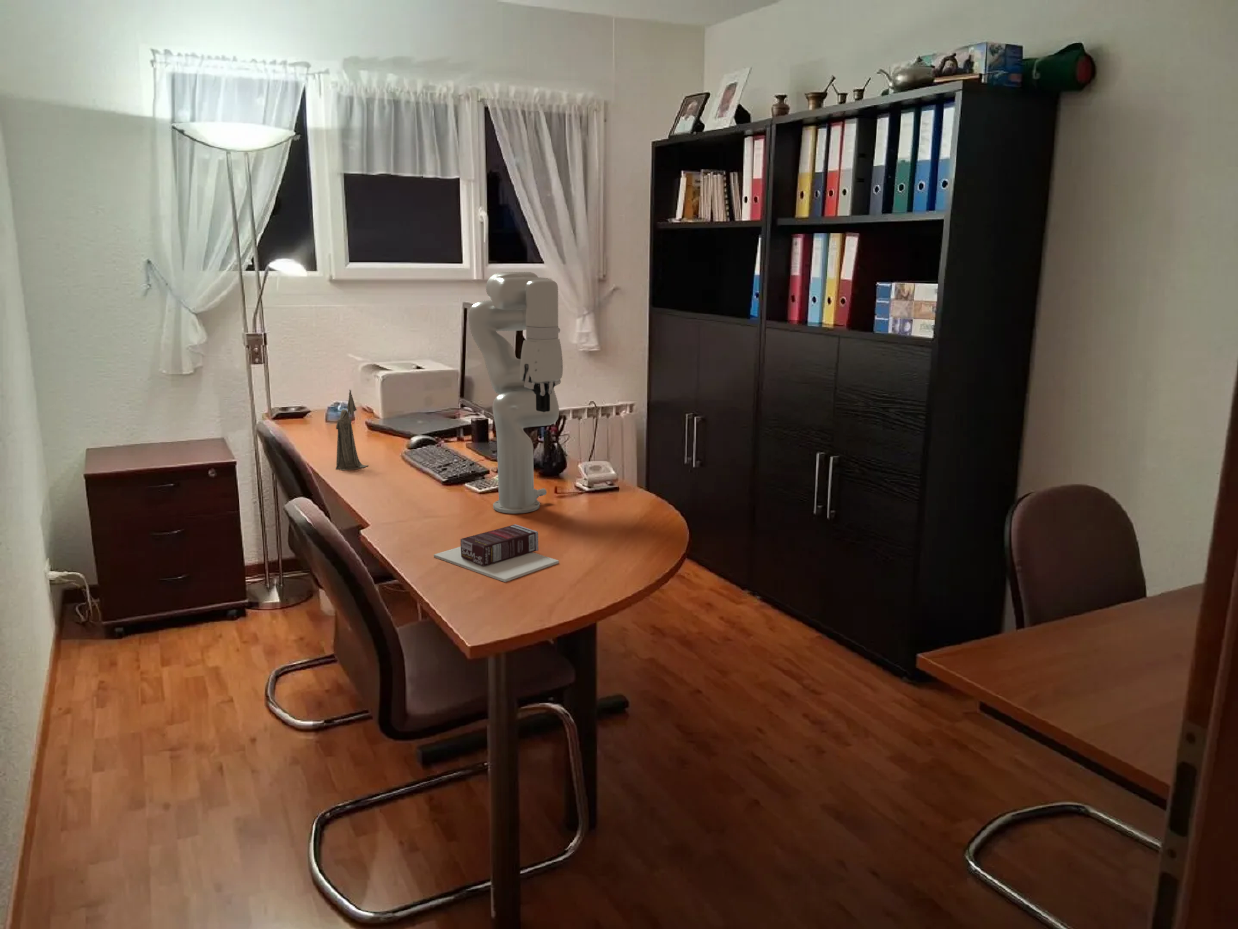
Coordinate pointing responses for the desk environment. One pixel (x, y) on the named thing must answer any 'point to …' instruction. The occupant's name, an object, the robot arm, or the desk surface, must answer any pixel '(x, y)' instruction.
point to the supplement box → (499, 544)
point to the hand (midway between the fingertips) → (543, 410)
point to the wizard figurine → (347, 440)
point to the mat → (500, 564)
